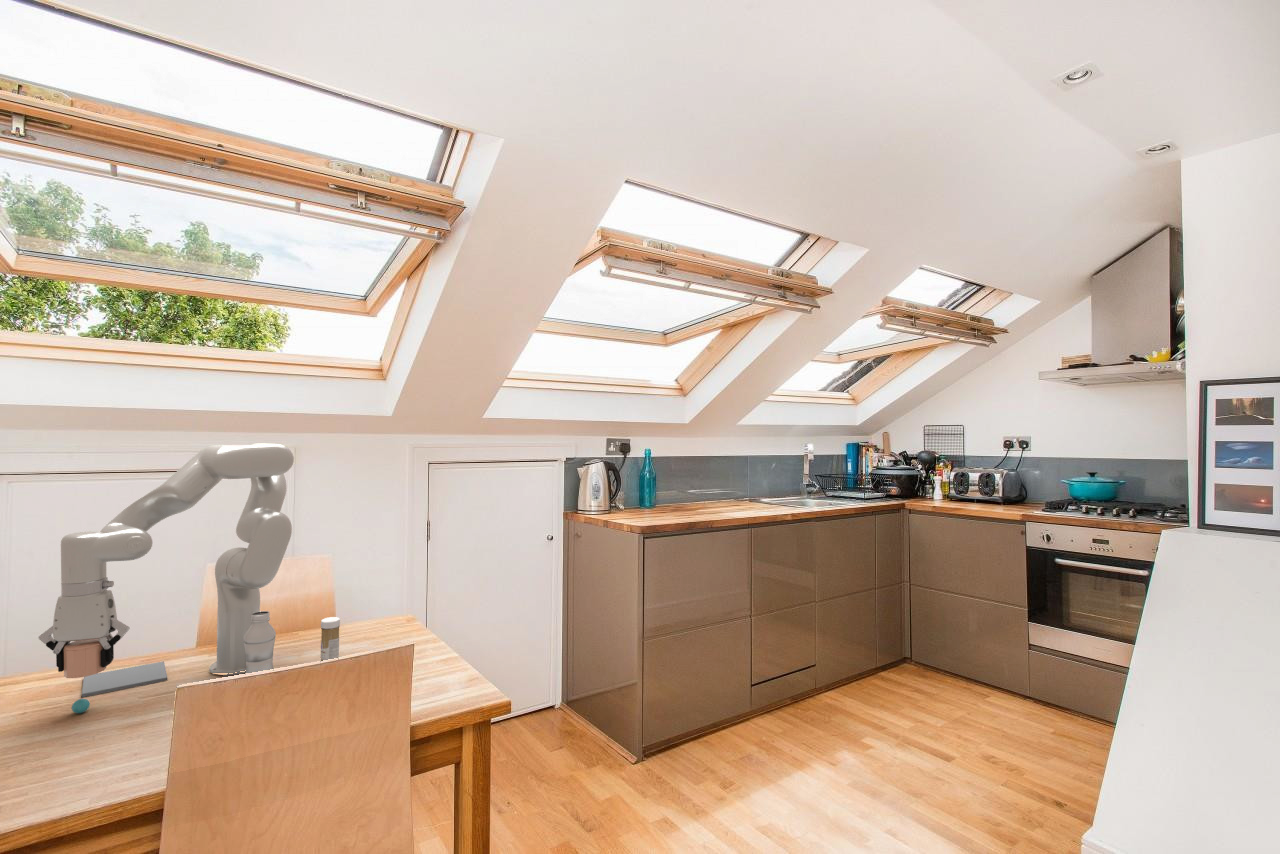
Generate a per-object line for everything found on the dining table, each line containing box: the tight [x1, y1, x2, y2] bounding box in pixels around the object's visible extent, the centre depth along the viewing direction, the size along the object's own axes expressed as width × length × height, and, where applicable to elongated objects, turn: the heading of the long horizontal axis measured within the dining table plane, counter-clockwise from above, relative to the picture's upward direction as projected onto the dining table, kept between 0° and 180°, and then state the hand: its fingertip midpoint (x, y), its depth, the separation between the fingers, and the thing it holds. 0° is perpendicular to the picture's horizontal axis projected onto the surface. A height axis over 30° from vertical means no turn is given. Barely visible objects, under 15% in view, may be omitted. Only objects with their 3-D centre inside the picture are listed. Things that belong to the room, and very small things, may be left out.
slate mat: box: [81, 661, 168, 698], centre depth 155 cm, size 16×14×1 cm
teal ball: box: [71, 698, 91, 714], centre depth 137 cm, size 3×3×3 cm
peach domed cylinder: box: [63, 639, 107, 679], centre depth 138 cm, size 7×7×6 cm
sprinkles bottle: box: [320, 616, 341, 662], centre depth 163 cm, size 5×5×13 cm
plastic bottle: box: [244, 610, 277, 674], centre depth 146 cm, size 6×7×20 cm
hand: (85, 666), depth 138 cm, fingers closed on peach domed cylinder, 7 cm apart
